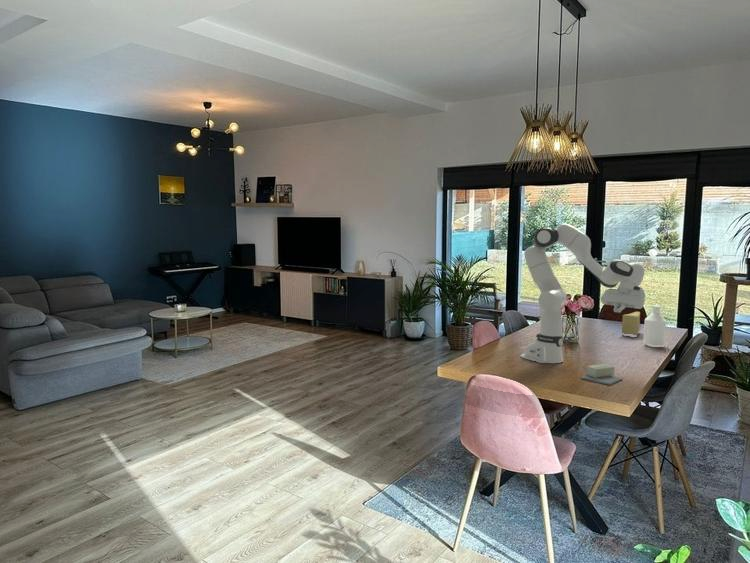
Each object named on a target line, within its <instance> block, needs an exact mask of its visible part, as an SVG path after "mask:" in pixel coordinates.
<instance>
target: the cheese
mask: <svg viewBox="0 0 750 563" xmlns="http://www.w3.org/2000/svg"><path fill="white" fill-rule="evenodd" d="M640 319H641V312H640V311H634V312H631V313H628V314H623V315H622V319H621V320H622V324H621V334H622V333H624V334H633V335H637V336H638V334H639V333H638V331H639V332H640V326H641V325H640V322H641V320H640ZM637 333H638V334H637Z"/></svg>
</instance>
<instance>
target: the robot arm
mask: <svg viewBox="0 0 750 563" xmlns="http://www.w3.org/2000/svg"><path fill="white" fill-rule="evenodd" d="M591 242H592V241H591V239H590V238H589V236H588V235H587V234H585V233H584V232H582V231H581V230H580V229H578V228H576V227H575V226H573V225H571V224H568V223H566V222H564V223H560V224H559V225H558V226H556V227H555V228H554V227H544V226H543V227H539V228H538V229H537V230H535V231H534V235H533V244H532V245H530V246H528V247H527V248H526V249H525V251H524V259H525V262H526V265H527V268H528V272H529V273H530V276H531V277H532V281H533V283H534V284H535V285H536V286H537V288H538V290H539V291H540V295H538V296H539V297H538V301H537V302H538V306H539V313H540V314H539V315H540V316H539V317H540V329H539V330H540V331H539V333H537V334H536V335H535V338H536V340H534V341H532V342H530V344H528V345H527V346H526V347H525V351H524V353H522V354H520V358H522V359H526V360H529V361H532V362H535V361H536V362H535V363H539V364H561V362H562V363H564V358H563V351H562V350H563V349H562V346H563V335H562V334H563V333H562V332H563V331H562V330H563V319H562V311H561V310H562V307H563V306H564V305H565V303H566V301H567V294H566V292H565V291H564V289H563V287H562V285H561V284H560V282H559V280H558V278H557V277H556V275H555V273H554V271H553V269H552V266H551V263H550V262H549V259H548V256H547V254H546V252H547V251H548V250H549V249H550V248H552V247H553V246H554V245H555V244H560V245H562V246H563V247H565V248H566V249H568V250H569V251H570V252H571V253H572V254H573V255H574V256H575V258H576V260H577V261H578V262H579V263H580V264H581V265H582V266H583V267H584V268H585V269H586V270H587V271H589V273H591V274H592V275H593V276H594V277H595V278H596V279H597V281H598V282H599V283H600V285H601V286H604V287H605V288H607V289H605V291H604V292H603V294H602V295H601V297H600V301H601V304H602V305H606V306H607V305H609V306H613V307H614V308H613V312H614V313H621V312H622V311H623V310H625V309H626V308H631V309H638V310H640V309H643V307H644V304H645V301H646V300H645V299H646V293H645V290H644V288H643V287H641V284H642V281H643V279H644V277H645V268H644V267H643V265H641V264H639V263H638V262H637V263H636V262H632V263H631V262H626V261H625V260H622V259H619V258H618V259H617V258H615V259H613V260H611V261H610V262H609V264H607V266H606V267H603V266H602V265H601V264H600V263H599V262H598V261H596V259H594V258H593V256H592V254H591V250H592V249H591V248H592V243H591ZM616 287H617V289H614V288H616Z"/></svg>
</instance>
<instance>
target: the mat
mask: <svg viewBox="0 0 750 563" xmlns="http://www.w3.org/2000/svg"><path fill="white" fill-rule="evenodd" d="M580 378H581V379H580V380H583V379H585V380H584V381H588V380H589V382H592V381H594V382H593V383H596V382H598V383H597V384H601V383H602V384H601V385H605V384H607V385H606V386H609V385H610V386H612V385H615V384H617V383H619V382H621V381H620V380H622V379H623V380H624V378H623V377H618V376H615V375H612V376H605V377H597V378H595V377H592V376H589V375H583V376H580ZM623 380H622V381H623ZM618 381H619V382H618ZM616 382H617V383H616ZM614 383H615V384H614ZM611 384H612V385H611Z"/></svg>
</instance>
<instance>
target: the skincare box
mask: <svg viewBox="0 0 750 563" xmlns="http://www.w3.org/2000/svg"><path fill="white" fill-rule="evenodd" d="M585 374H586V375H589V376H592V377H595V378H597V377H605V376H615V366H613V365H609V364H605V363H602V364H593V365H587V366H586V373H585Z"/></svg>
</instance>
